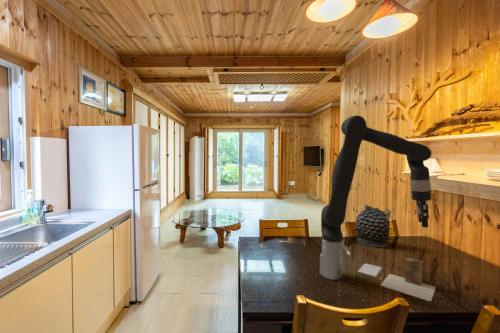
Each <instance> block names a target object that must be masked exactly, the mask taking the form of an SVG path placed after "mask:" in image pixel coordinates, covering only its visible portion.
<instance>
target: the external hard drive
mask: <svg viewBox="0 0 500 333" xmlns="http://www.w3.org/2000/svg"><path fill="white" fill-rule="evenodd" d="M382 269H383V267H381V266H377V265H373V264H370V263H367V262H366V263H363V265H362V266H361V267H360V268H359V269H358V271H357V275H361V274H362V275H366V276H369V277H373V278H377V277H378V275H379V274H380V272H381V271H382Z"/></svg>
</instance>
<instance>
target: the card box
mask: <svg viewBox="0 0 500 333" xmlns="http://www.w3.org/2000/svg"><path fill="white" fill-rule="evenodd" d="M404 260H405V261H404V263H405V264H404V278H405V282H408V283H412V284H415V285H418V286H421V284H422V283H423V267H424V265H423V264H424V262H423V260H421V259H417V258H412V257H406V258H405V259H404Z"/></svg>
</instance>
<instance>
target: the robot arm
mask: <svg viewBox="0 0 500 333" xmlns="http://www.w3.org/2000/svg"><path fill="white" fill-rule="evenodd" d="M340 129H341V133H342V135H344V139H343V142H342V146H341V148H340V151H339V153H338V155H337V158H336V160H335V162H334V164H333V170H332V174H331V196H330V200H329V202H328V204H327V205H325V206H323V208H322V210H321V214H320V223H321V224H320V226H321V230H320V231H321V253H320V254H319V275H320V276H322V277H324V278H326V279H327V280H328V279H329V280H333V281H336V280H340V279H342V277H343V243H344V242H343V238H344V237H343V232H342V225H343V223H344V222H345V219H346V213H347V206H348V204H347V203H348V199H349V196H350V192H351V187H352V183H353V179H354V176H355V173H356V172H355V171H356V166H357V163H358V158H359V153H360V148H361V144H362V141H365V142H368V143H371V144H374V145H376V146H378V147H380V148H384V149H385V150H388V151H390V152H393V153H395V154H398V155H404V156H406V161H407V164H408V167H409V170H410V191H411V199H412V201H415V202H416V203H415V204H416V205H415V206H416V212H417V218H418V222H419V223H421V226H422V228H428V227H429V220H428V219H430V214H429V204H427V202H428V201H432V184H431V181H430V168H428V166H426V165H425V163H424V162H426V161H427V160H429V159H431V156H432V150H431V148H430V147H428V146H427V145H424V144H422V143H418V142H415V141H410V140H408V139H405V138H402V137H400V136H397V135H395V134H392V133H388V132H384V131H380V130H377V129H373V128H371V127H369V126H367V121H366V119H365V118H364V117H363V116H361V115H352V116H350V117H348V118H346V119H345V120H344V121H343V122H342V124H341V125H340Z"/></svg>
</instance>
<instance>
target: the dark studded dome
mask: <svg viewBox="0 0 500 333" xmlns="http://www.w3.org/2000/svg"><path fill="white" fill-rule="evenodd" d="M391 213H392V211H391V210H390V209H388V208H385V209H384V210H380V209H379V208H378V207H373V206H369V205H367V204H365V206H364V209H363V210H361V211H360V213H358V215H357V216H356V218H355V220H356V222H355V223H354V225H355V230H356V233H357V237H356V241H357V242H358V243H360V244H361V245H365V246H372V247H377V248H378V247H379V248H386V247H388V245H389V242H388V240H389V237H390V230H391V229H390V228H391V227H390V226H391V225H390V219H391Z"/></svg>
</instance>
